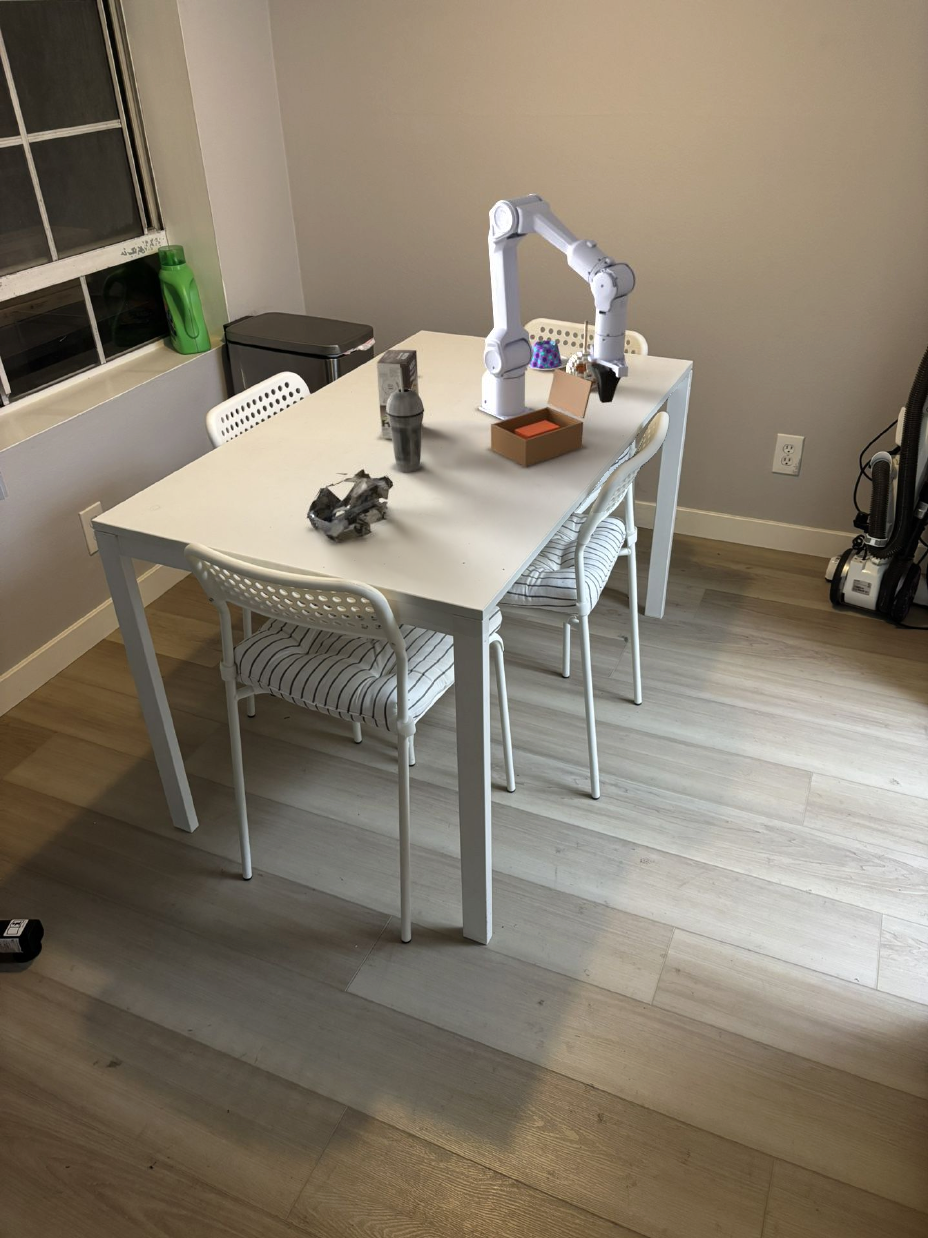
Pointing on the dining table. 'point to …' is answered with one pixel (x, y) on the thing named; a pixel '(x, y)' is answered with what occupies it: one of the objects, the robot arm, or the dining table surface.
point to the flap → (570, 393)
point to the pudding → (547, 356)
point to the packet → (536, 429)
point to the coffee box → (395, 380)
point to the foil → (351, 508)
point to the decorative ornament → (582, 362)
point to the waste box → (540, 445)
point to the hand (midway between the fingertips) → (605, 401)
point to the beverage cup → (406, 427)
